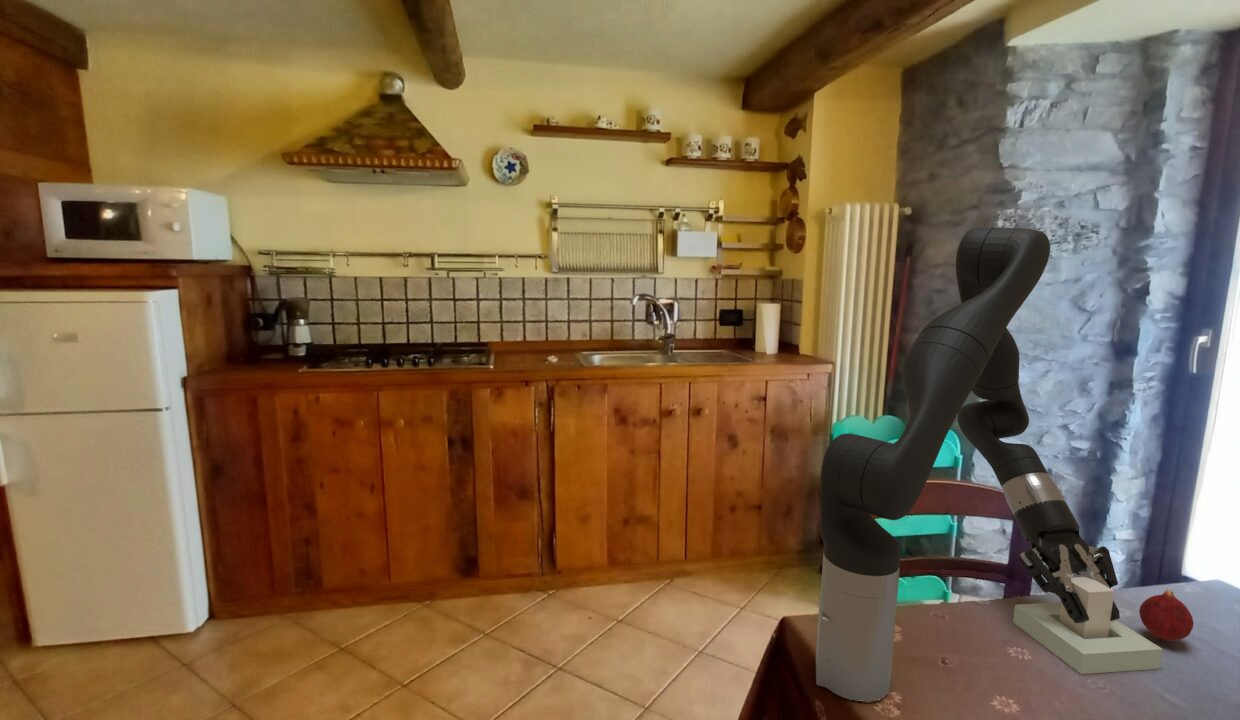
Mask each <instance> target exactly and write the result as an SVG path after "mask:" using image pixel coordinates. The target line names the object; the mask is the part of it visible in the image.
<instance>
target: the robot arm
mask: <svg viewBox="0 0 1240 720" xmlns="http://www.w3.org/2000/svg"><path fill="white" fill-rule="evenodd" d="M1050 254H1051V243H1050V239H1049V237H1048V235H1047V234H1046V233H1045V232H1043V231H1040V230H1037V229H1032V228H1023V227H1022V228H1021V227H993V226H992V227H991V226H987V227H986V226H983V227H982V226H981V227H980V226H979V227H974V228H971V229H969V230H968V231H967V232H966V233H965V234H964V235H963V236H962V238H961V239H960V242H959V245H958V247H957V252H956V256H955V274H956V275H955V276H956V282H957V287H958V293H959V300H960V303H959V304H957V305H956V306H953V307H951V308H950V309H948V310H946V311H943V312H942V313H941V314H939V315H937V316H936V317H934V318H933V319H931V320H930V321H929V322H928V323H927V324H925V326H924V327H923V328H922V329H921V331H920V332H919V334H918V335H917V337H916V338H915V340H914V342H913V343H912V345H911V347H910V348H909V350H908V351H907V353H906V354H905V356H904V359H903V362H902V369H901V370H902V373H901V374H902V375H901V376H902V381H903V386H904V391H905V396H906V399H907V403H908V409H909V411H908V412H909V418H908V422H907V424H906V426H905V428H904V430H903V432H902V433H901V435H900V436H899V438H898V440H896V441H895V442H890V441H889V442H888V441H885V440H880V439H877V438H872V437H869V436H865V435H860V434H855V433H848V432H846V433H842V434H839V435H837V436H836V437H835V438H833V439H832V440H831V442H830V443H829V444H828V446H827V448H826V450H825V452H824V455H823V460H822V462H821V463H822V465H821V470H820V485H819V487H820V490H819V491H820V495H819V496H820V497H819V498H820V506H819V507H820V508H819V509H820V515H819V517H820V518H819V522H820V523H819V528H820V535H821V539H822V542H823V554H822V569H821V570H822V571H821V584H820V586H821V587H820V596H819V602H818V617H817V618H818V619H817V630H816V634H817V635H816V649H815V679H816V680H815V682H816V683H815V684H816V685H817V686H818V687H822V688H826V689H827V690H829V691H831V692H832V693H833V694H835V695H837V696H839V697H841V698H843V699H847V700H850V701H852V700H864V701H874V700H878V699H881V698H883V697H885V696H886V695H887V694H889V693H890V689H891V681H892V667H893V666H892V665H893V654H894V642H895V639H894V638H895V629H896V619H897V618H896V615H897V604H898V593H899V583H900V582H899V580H900V568H901V559H902V552H901V546H900V544H899V542H898V540H897V538H895V536H893V535H892V534H891V532H889V531H887V530H886V529H885V528H884V527H883V526H882V525H881V524H880V523H879V522H878V521H877V520H876V519H875V518H874V517H873V516H876V517H879V518H881V519H883V520H884V519H885V520H889V521H898V520H900V519H903V518H904V517H906V516H907V515H908V514H909V513H910V511H911V510H912V509H914V508H913V507H915V505H916V503H918V500H919V498H920V496H921V494H922V492H923V490H924V488H925V485H926V483H928V482H927V481H928V479H929V476H930V475H931V472H932V470H933V467H934V466H935V463H936V461H937V458H938V456H939V454H940V452H941V451H940V450H941V449H942V446H943V444H944V442H945V440H946V437H947V435H948V434H949V431H950V430H951V427H952V426H953V423H954V421H955V420H956V419H957V424H958V427H959V430H960V431H961V432H962V434H963V435H964V437H965V438H966V439H967V440H968V441H969V442H970V443H971V445H972V446H973V447H974V448H976V450H977V451H978V452H979V453H980V455H981V456H982V457H983V458H984V459H985V460H986V461H987V463H988V464H989V465H990V467H991V469H992V471H993V473H994V475H995V476H996V479H997V481H998V483H999V485H1000V487H1001V489H1002V491H1003V494H1004V497H1005V500H1006V502H1007V505H1008V507H1009V508H1010V511H1011V512H1012V515H1013V517H1014V519H1015V522H1016V523H1017V526H1018V527H1019V529H1020V532H1021V533H1022V535H1023V538H1024V539H1025V540H1026V541H1027V542H1028V543H1030V549H1028V550H1025V551H1023V552H1021V553H1019V554H1017V560H1018V561H1019V562H1020V563H1021V564H1022V566H1023V567H1024V568H1025V570H1026V571H1027V572H1028V574H1029V575H1030V576H1031V578H1032V579H1033V580H1034V581H1035V583H1036V585H1038V587H1039V588H1040V590H1041V591H1042V592H1044V593H1046V594H1047V593H1051V594H1055V596H1056V597H1058V598H1059V600H1060V602H1062V604H1063V606H1064V608H1065V610H1066V612H1067V614H1068V615H1069V617H1070V618H1071V619H1073V621H1074V622H1075V623H1083V622H1086V621H1088V620H1089V617H1088V615H1087V613H1086V611H1085V609H1084V607H1083V605H1082V603H1081V601H1080V599H1079V597H1078V595H1077V593H1073V591H1074V589H1073V585H1072V581H1071V578H1072V576H1074V577H1090V578H1092V579H1094V580H1096V581H1098V582H1099V583H1101V584H1103V585H1105V586H1106V587H1108V588H1110V589H1112V588H1113V587H1115V586H1118V585H1119V582H1118V577H1117V574H1116V572H1115V567H1114V565H1113V561H1112V557H1111V553H1110V550H1109V549H1108V548H1107V547H1106V546H1104V545H1102V546H1100V547H1094V546H1091V545H1088V543H1087V542H1086V540H1084V539H1083V538H1082V537H1081V535H1080V528H1081V527H1080V524H1079V522H1078V520H1077V519H1076V518H1075V515H1074V514H1073V512H1072V510H1071V509H1070V507H1069V504H1068V503H1067V501H1066V500H1065V498H1064V496H1063V494H1062V493H1061V490H1060V489H1059V487H1058V485H1057V483H1055V481H1053V479H1052V478H1051V476H1050V474H1049V473H1048V471H1047V469H1046V467H1045V466H1044V463H1043V462H1042V460H1041V458H1040V457H1039V455H1038V453H1037V451H1036V450H1035V449H1034V447H1032V446H1031V445H1029V444H1026V443H1010V442H1005V441H1004V440H1003V441H1002V440H1001V439H1006V438H1011V437H1016V436H1020V435H1022V434H1023V433H1025V431H1026V430H1027V429H1028V427H1029V424H1030V417H1029V414H1028V411H1027V408H1026V406H1025V403H1024V400H1023V396H1022V393H1021V390H1020V384H1019V380H1020V379H1019V377H1020V351H1019V348H1018V347H1019V346H1018V345H1017V342H1016V340H1015V338H1014V336H1013V335H1012V334H1011V332H1010V331H1009V329H1008V328H1007V327H1008V326H1009V324H1010V322H1011V321H1012V319H1013V318H1014V316H1015V315H1016V313H1018V311H1019V309H1020V308H1021V307H1022V305H1023V304H1024V302H1026V300H1027V298H1028V297H1029V296H1030V294H1031V293H1032V291H1033V290H1034V288H1035V287H1036V286H1037V284H1038V283H1039V281H1040V279H1041V277H1042V276H1043V274H1044V272H1045V270H1046V268H1047V264H1048V262H1049V258H1050ZM971 392H972V394H973V395H974V396H976V397H978V398H980V399H981V401H975V402H972V403H967V404H965V402H966V400H967V399H968V397H969V395H970V394H971ZM964 404H965V405H964ZM1085 570H1086V571H1085ZM1120 618H1121V615H1120V610H1119V609H1118V606H1117V604H1116V602H1115V601H1114V600H1113V605H1112V612H1111V619H1110V621H1114V620H1117V621H1118V620H1120ZM888 692H889V693H888ZM887 696H888V695H887ZM887 696H886V697H887ZM886 697H885V698H886ZM883 699H884V698H883ZM881 700H882V699H881Z"/></svg>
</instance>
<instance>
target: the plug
mask: <svg viewBox="0 0 1240 720" xmlns="http://www.w3.org/2000/svg"><path fill="white" fill-rule="evenodd" d="M1071 581H1072V585H1073V589H1074V591H1073V593H1077V595H1078V597H1079V599H1080V601H1081V603H1082V605H1083V607H1084V609H1085V611H1086V613H1087V615H1088V617H1089V620H1088V621H1086V622H1083V623H1075V622H1074V621H1073V619H1071V618H1070V617H1069V615H1068V614H1067V612H1066V610H1065V608H1064V606H1063V604H1062V603H1061V611H1060V619H1059V622H1060V623H1061V624H1063V625H1064V626H1066V627H1067V628H1069V629H1070V630H1071V631H1073V632H1074V633H1076V634H1077V635H1079V636H1080V637H1082V638H1083V639H1096V638H1108V633H1109V626H1110V619H1111V612H1112V605H1113V601H1114V596H1115V590H1113V589H1112V588H1108V587H1106V586H1105V585H1103V584H1101V583H1099V582H1098V581H1096V580H1094V579H1092V578H1091V577H1075V576H1074V577H1071Z"/></svg>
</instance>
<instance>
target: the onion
mask: <svg viewBox="0 0 1240 720" xmlns="http://www.w3.org/2000/svg"><path fill="white" fill-rule="evenodd" d="M1138 612H1139V617H1140V620H1141V622H1142V624H1143V626H1144V627H1145V628H1146V629H1147V630H1148V631H1149V632H1150V633H1151V634H1152V635H1153V636H1154V637H1156V639H1158V640H1159V641H1161V642H1173V641H1179V640H1182V639H1185V638H1187V637H1189V636H1190V634H1191V632H1192V630H1193V628H1194V619H1193V616H1192V614H1191V612H1190V610H1189V609H1188V608H1187V606H1186V605H1185V604H1184V603H1183V602H1182V601H1181V600H1179V599H1178V598H1176V596H1175V594H1174V592H1173V591H1172V589H1169V588H1167V589H1165V590H1164V592H1163V593H1162V594H1157V595H1153V596H1150V597H1148V598H1147V599H1145V600H1144V601H1143V602H1142V603H1141V605H1140V606H1139V610H1138Z"/></svg>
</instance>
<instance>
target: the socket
mask: <svg viewBox="0 0 1240 720" xmlns="http://www.w3.org/2000/svg"><path fill="white" fill-rule="evenodd" d="M1061 603H1062V602H1061V601H1057V602H1056V601H1055V602H1042V603H1041V602H1039V603H1020V604H1014V611H1013V620H1012V622H1013V624H1014V625H1016V626H1017V627H1018V628H1020V629H1021V630H1022V631H1023V632H1025V633H1026V634H1028V635H1029V636H1030V637H1031V638H1033V639H1034V640H1035V641H1037V642H1039V644H1041V646H1043V647H1044V648H1046V649H1047V650H1048V651H1050V652H1051V653H1052V654H1054V655H1055V656H1056V657H1058V658H1059V659H1061V661H1063V662H1064V663H1066V664H1067V665H1069V667H1071V668H1072V669H1074V670H1075V671H1076V672H1077V673H1079V674H1080V675H1088V674H1089V675H1091V674H1102V673H1103V674H1104V673H1119V672H1132V671H1133V672H1135V671H1147V670H1148V671H1149V670H1160V668H1161V662H1162V656H1163V650H1164V649H1163V648H1162V647H1160V646H1159V645H1157V644H1155V643H1154V642H1152V641H1150V640H1149V639H1147V638H1146V637H1144V636H1143V635H1141V634H1139V633H1138V632H1136V631H1134V630H1133V629H1131V628H1129V627H1127V626H1126V625H1124V624H1123V623H1121V622H1119V621H1118V620H1114V621H1110V626H1109V633H1108V638H1096V639H1083V638H1082V637H1080V636H1079V635H1077V634H1076V633H1074V632H1073V631H1071V630H1070V629H1069V628H1067V627H1066V626H1064V625H1063V624H1061V623H1060V622H1059V619H1060V611H1061Z"/></svg>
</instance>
